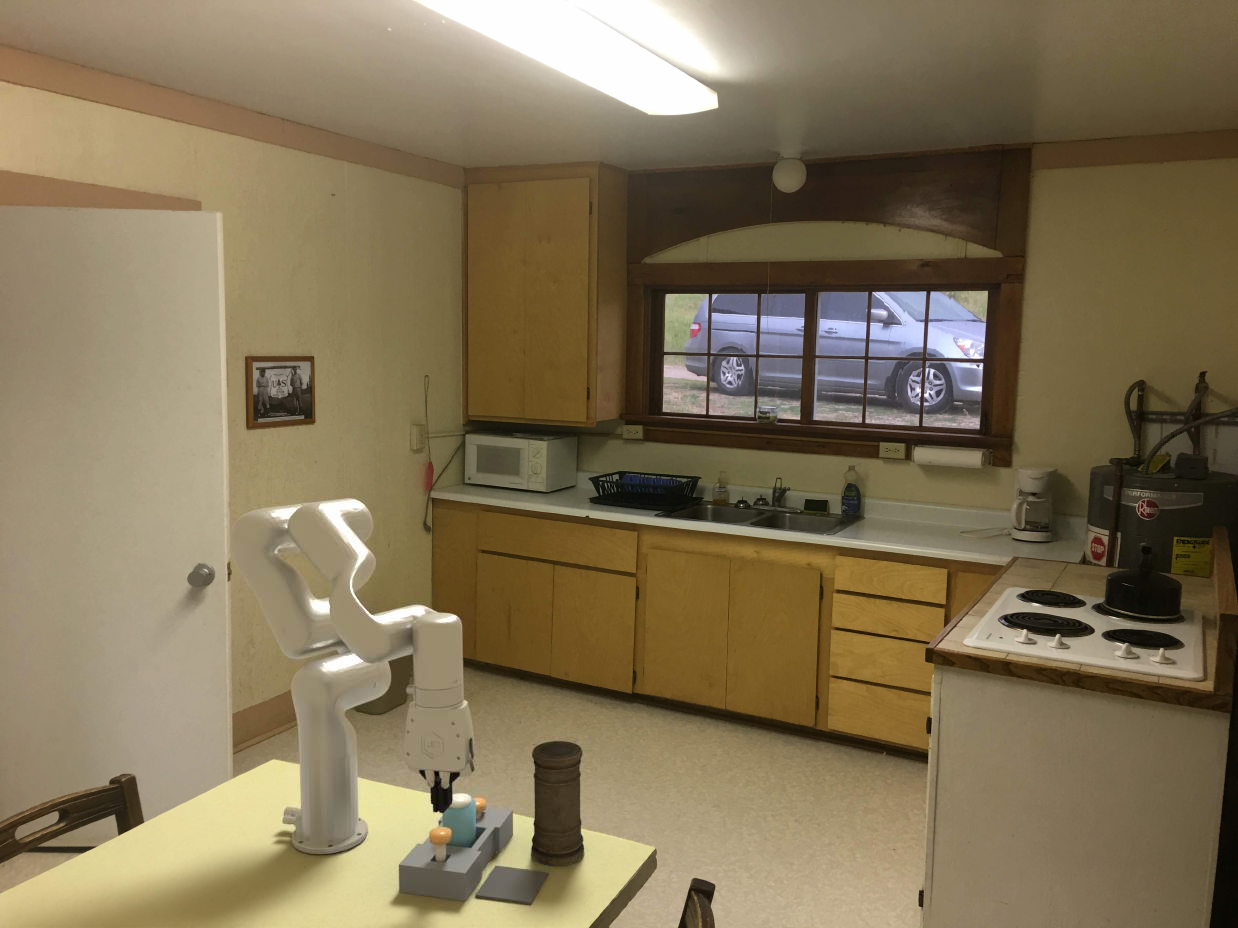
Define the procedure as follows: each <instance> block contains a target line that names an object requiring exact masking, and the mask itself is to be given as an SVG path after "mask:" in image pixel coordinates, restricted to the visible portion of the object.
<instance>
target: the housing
mask: <svg viewBox="0 0 1238 928" xmlns="http://www.w3.org/2000/svg"><path fill="white" fill-rule="evenodd" d="M437 821H438V826H436V828H438V827H443V826H442V816H441V817H440V818H439V819H438V820H437ZM513 835H514V809H512V808H511V809H510V808H501V807H493V806H492V807H491V806H486V810H485V811H483V812H481V819H476V843H475V844H474V845H473V846H472V848H466V847H458V846H450V845H446V863H441V862H436V854H435V844H432V843H430V841H429V836H428V837H427V838H426V839H425V841H424V842H423V843H416V844H415V846H414V847H413V848H412V849H411V850H410V852H409V853H408V854H407V855H405V857H404V858H403V859H402V860H401V861H400V862H399V864H398V893H401V894H408V895H416V896H422V897H423V896H425V897H431V898H439V899H446V900H453V901H454V900H455V901H460V902H466V901H467V900H468V899H469V897H470V896H471V895H472V893H473V892H474V890H475V888H476V887H477V886H478V884H479V883H480V882H481V880H482V879H483V870H484V869H485V868H486V866H487V864H488V863H489V862H490V860H491V859H492V858H493V856H494V855H495V854H500V853H501V852H502V851H503V849H504V848H505V847H506V845H507V843H508V842H509V841H510V839H511V838H512V837H513Z"/></svg>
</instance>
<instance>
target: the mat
mask: <svg viewBox="0 0 1238 928" xmlns="http://www.w3.org/2000/svg"><path fill="white" fill-rule="evenodd" d="M548 877H549V871H544V870H543V871H541V870H534V869H526V868H519V867H512V866H511V867H510V866H504V865H503V866H502V865H494V867H493V869H492V870H491V871H490V873H489V874H488V876H487V877H486V879H485V880H484V881H483V883H482V884H481V885H480V887H479V888H478V890H477V892H475V894H474V897H475V898H478V899H484V900H485V899H487V900H494V901H501V902H508V903H516V904H521V905H522V904H523V905H529V906H531V905H532V904H533V902H534V900H535V898H536V896H537V895H538V893H539V891H540V890H541V888H542V886H543V884H544V883H545V881H546V879H547V878H548Z"/></svg>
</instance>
